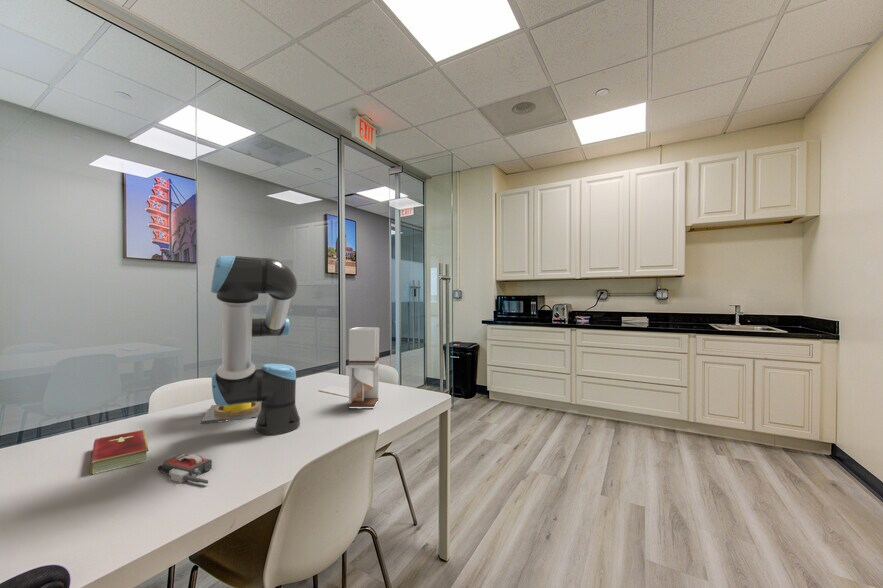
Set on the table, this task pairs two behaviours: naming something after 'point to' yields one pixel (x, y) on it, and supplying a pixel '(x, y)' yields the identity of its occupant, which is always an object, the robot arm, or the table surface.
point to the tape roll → (237, 407)
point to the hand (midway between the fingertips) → (237, 399)
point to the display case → (363, 366)
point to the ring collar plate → (230, 413)
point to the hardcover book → (118, 451)
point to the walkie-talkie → (186, 467)
